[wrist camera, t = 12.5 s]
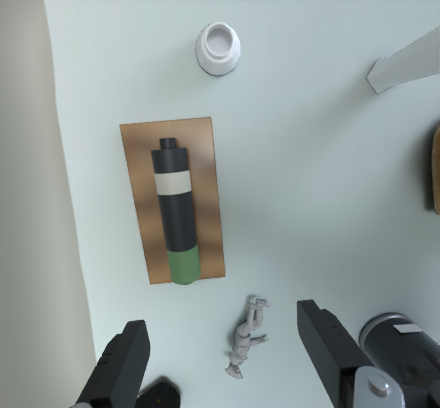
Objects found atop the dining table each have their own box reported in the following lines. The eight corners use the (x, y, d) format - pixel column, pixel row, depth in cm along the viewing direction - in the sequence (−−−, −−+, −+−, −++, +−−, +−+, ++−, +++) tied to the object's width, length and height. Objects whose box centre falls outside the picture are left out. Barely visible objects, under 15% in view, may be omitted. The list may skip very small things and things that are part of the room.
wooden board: (224, 273, 32) (225, 276, 31) (151, 281, 31) (150, 284, 31) (210, 117, 26) (211, 116, 25) (121, 125, 26) (119, 124, 25)
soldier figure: (278, 300, 35) (266, 377, 34) (252, 290, 38) (240, 360, 37) (256, 310, 28) (241, 405, 28) (227, 297, 31) (212, 382, 31)
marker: (151, 140, 26) (145, 138, 22) (185, 137, 26) (185, 135, 22) (172, 273, 30) (170, 291, 26) (200, 268, 31) (203, 285, 27)
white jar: (247, 44, 24) (210, 16, 24) (252, 31, 22) (210, -2, 21) (225, 85, 25) (188, 59, 25) (227, 77, 23) (185, 48, 22)
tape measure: (164, 372, 36) (159, 397, 32) (189, 395, 37) (187, 421, 34) (133, 392, 37) (125, 418, 33) (160, 413, 38) (154, 441, 35)
